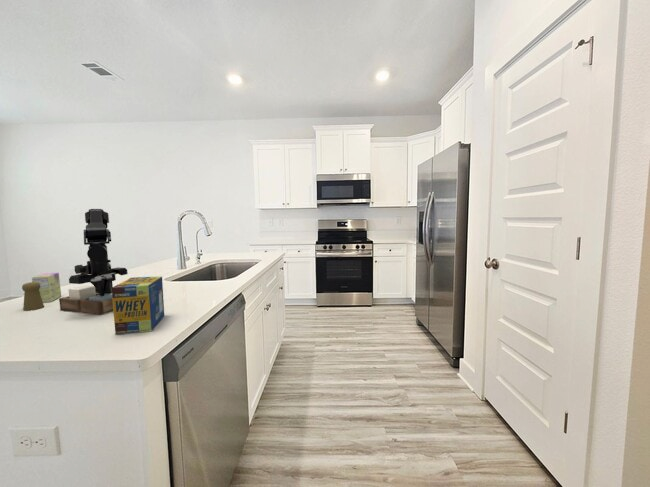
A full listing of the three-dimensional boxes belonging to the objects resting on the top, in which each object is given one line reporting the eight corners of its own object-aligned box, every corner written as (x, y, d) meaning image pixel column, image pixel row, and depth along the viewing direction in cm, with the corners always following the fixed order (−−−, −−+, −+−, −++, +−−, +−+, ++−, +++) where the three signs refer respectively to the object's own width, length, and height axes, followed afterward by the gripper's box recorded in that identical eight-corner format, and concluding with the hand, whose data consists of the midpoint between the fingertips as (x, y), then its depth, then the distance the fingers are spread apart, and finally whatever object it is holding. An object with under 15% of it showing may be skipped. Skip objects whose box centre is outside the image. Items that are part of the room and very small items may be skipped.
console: (87, 303, 121) (86, 291, 121) (125, 307, 115) (124, 295, 115) (60, 310, 111) (59, 298, 111) (100, 315, 106) (99, 302, 105)
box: (45, 297, 130) (43, 273, 129) (61, 296, 132) (59, 272, 131) (34, 304, 120) (31, 277, 119) (51, 302, 123) (48, 276, 122)
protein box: (114, 335, 87) (110, 287, 86) (134, 318, 102) (130, 277, 101) (151, 331, 90) (148, 285, 89) (165, 315, 105) (162, 275, 103)
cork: (30, 311, 111) (27, 284, 110) (19, 310, 112) (15, 284, 111) (48, 306, 117) (45, 281, 116) (37, 305, 118) (34, 280, 117)
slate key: (105, 302, 115) (104, 293, 115) (116, 303, 114) (115, 294, 113) (89, 307, 110) (88, 297, 109) (100, 308, 108) (99, 298, 108)
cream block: (85, 294, 118) (84, 285, 118) (95, 295, 116) (95, 286, 116) (69, 298, 112) (68, 289, 112) (79, 299, 111) (79, 290, 110)
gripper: (107, 254, 121) (110, 288, 122) (56, 260, 103) (60, 301, 105) (127, 255, 118) (129, 290, 119) (77, 261, 100) (82, 303, 102)
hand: (102, 296), depth 111 cm, fingers closed, pressing on slate key
